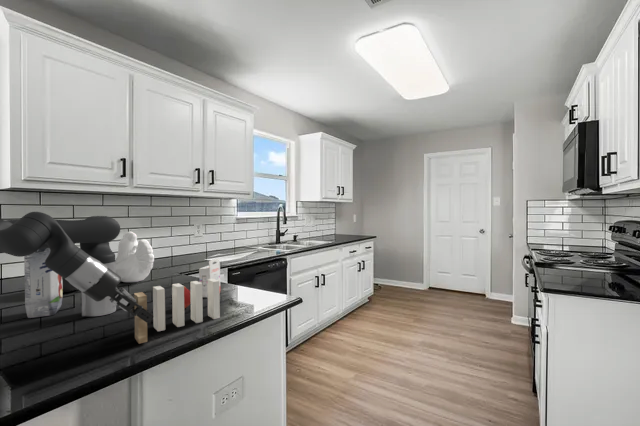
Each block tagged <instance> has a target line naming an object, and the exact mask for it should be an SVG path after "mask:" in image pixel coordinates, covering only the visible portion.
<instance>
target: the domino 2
mask: <svg viewBox="0 0 640 426" xmlns="http://www.w3.org/2000/svg"><path fill="white" fill-rule="evenodd" d="M171 295H172V296H171V297H172V298H171V300H172V301H171V303H172V304H171V308H172V310H171V311H172V324H173V325H174V326H175V327H177V328H180V327H184V326H185V309H184V285H182V284H181V283H179V282H178V283H173V284H171Z"/></svg>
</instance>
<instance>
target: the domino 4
mask: <svg viewBox="0 0 640 426" xmlns="http://www.w3.org/2000/svg"><path fill="white" fill-rule="evenodd" d="M207 288H208V297H207V316H208V317H210V318H211V319H213V320H217V319H220V318H221V306H220V305H221V304H220V303H221V302H220V301H221V299H220V293H221V286H220V287H219V281H218V280H216V279H207Z"/></svg>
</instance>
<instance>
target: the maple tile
mask: <svg viewBox="0 0 640 426" xmlns="http://www.w3.org/2000/svg"><path fill="white" fill-rule="evenodd" d="M133 297H134V298H135V299H136V300H137V303H138V304H139V305H140V306H143V308H144V309H145V310H148V302H147V301H148V295H147V294H145V293H144V292H143V291H141V292H140V291H139V292H134V293H133ZM136 308H137V306H134V310H135V309H136ZM134 339H135V340H136V342H137V343H138V344H139V345H140V344H143V343H147V342H148V323H147V322H145V321H144V320H142V319H141V318H139V317H138V316H134Z"/></svg>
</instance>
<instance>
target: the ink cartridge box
mask: <svg viewBox="0 0 640 426" xmlns="http://www.w3.org/2000/svg"><path fill="white" fill-rule="evenodd" d="M198 274H199V277H198V278H199V282H200V283H202V298H208V288H207V279H216V280H218V281H219V287H220V288H221V263H220V258H215V259H212V260H208V265H205V266H203V267H200V268H198Z"/></svg>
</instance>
